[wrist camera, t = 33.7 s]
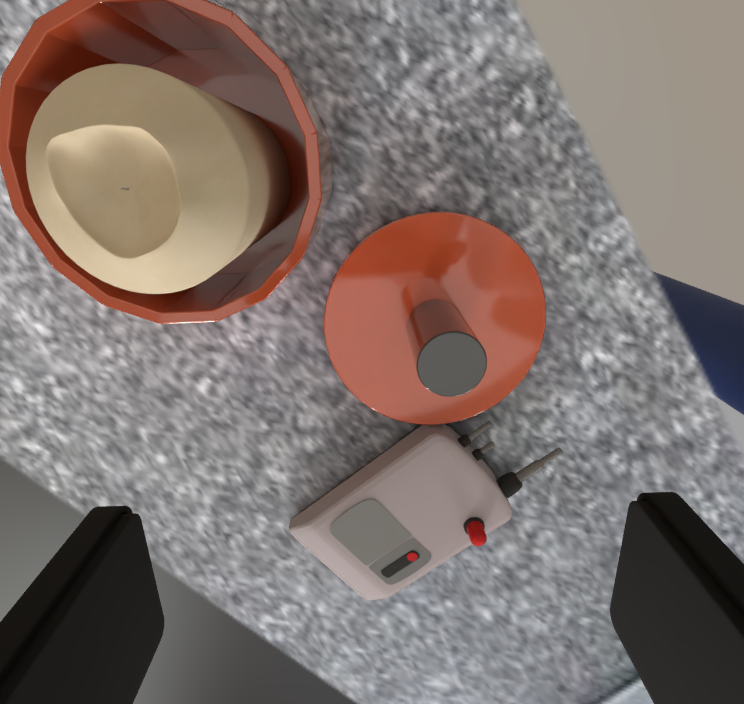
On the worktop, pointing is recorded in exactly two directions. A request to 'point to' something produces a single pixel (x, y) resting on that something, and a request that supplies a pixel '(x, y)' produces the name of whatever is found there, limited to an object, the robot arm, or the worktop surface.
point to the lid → (434, 318)
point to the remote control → (409, 510)
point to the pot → (200, 69)
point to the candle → (152, 177)
